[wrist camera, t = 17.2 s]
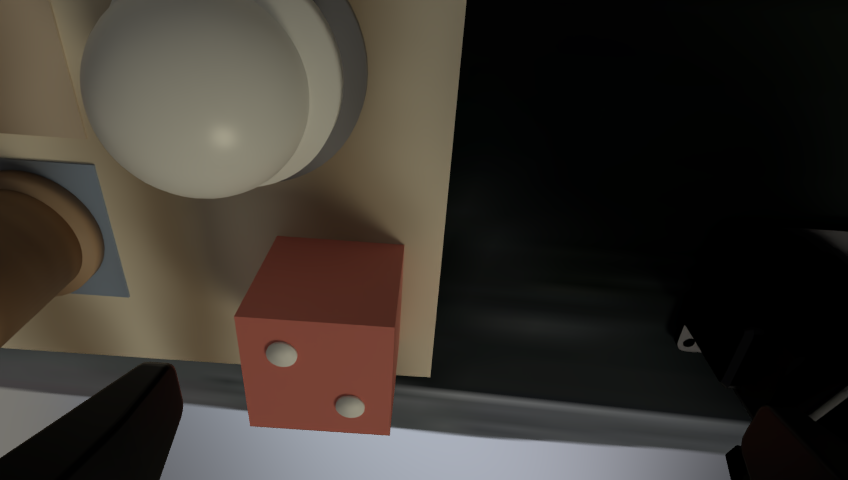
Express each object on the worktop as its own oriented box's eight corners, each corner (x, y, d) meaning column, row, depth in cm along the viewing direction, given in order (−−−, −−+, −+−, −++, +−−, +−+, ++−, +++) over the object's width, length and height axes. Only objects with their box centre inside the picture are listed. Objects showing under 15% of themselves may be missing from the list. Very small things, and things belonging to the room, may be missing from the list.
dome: (344, -44, 15) (298, -30, 10) (347, 177, 18) (313, 266, 14) (103, -62, 15) (-58, -57, 10) (151, 163, 18) (48, 247, 14)
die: (404, 244, 21) (394, 329, 16) (399, 341, 23) (389, 437, 19) (274, 235, 21) (229, 318, 16) (283, 334, 23) (246, 427, 19)
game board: (505, -424, 13) (512, -468, 11) (430, 361, 25) (429, 386, 24) (-349, -492, 12) (-448, -545, 11) (8, 332, 25) (-17, 356, 24)
